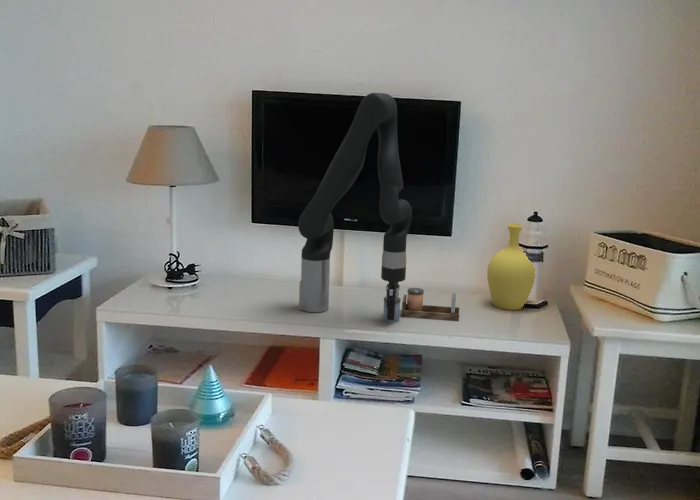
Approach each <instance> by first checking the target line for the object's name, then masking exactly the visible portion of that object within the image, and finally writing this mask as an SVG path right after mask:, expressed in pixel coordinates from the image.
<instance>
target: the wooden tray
mask: <svg viewBox="0 0 700 500" xmlns="http://www.w3.org/2000/svg"><path fill="white" fill-rule="evenodd" d="M407 296H408V294H404V295H403V296H402V297H403V299H402V303H401V317H402V318H409V319H410V318H411V319H412V318H413V319H424V320H437V321H438V320H440V321H452V322H453V321H454V322H459V321H460V307H459V306H455V314H451V306H446V305H445V306H443V305H432V304H431V305H428V304H423V309H422V311H409V310H407Z"/></svg>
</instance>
